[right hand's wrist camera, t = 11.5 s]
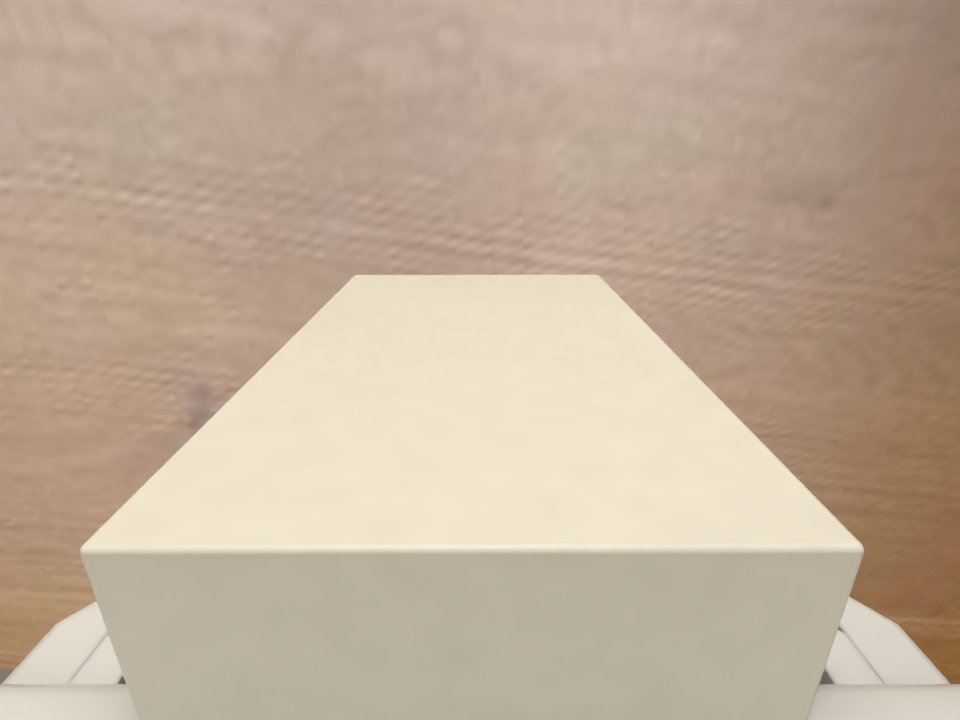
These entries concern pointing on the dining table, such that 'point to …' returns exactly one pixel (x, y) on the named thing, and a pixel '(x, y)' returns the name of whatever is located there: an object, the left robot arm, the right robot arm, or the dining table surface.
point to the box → (473, 527)
